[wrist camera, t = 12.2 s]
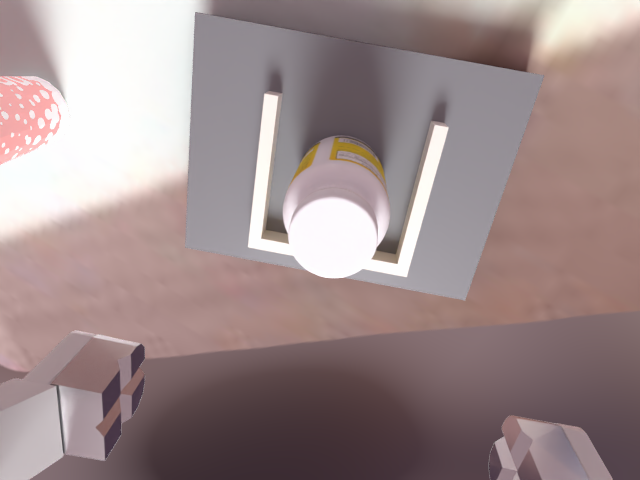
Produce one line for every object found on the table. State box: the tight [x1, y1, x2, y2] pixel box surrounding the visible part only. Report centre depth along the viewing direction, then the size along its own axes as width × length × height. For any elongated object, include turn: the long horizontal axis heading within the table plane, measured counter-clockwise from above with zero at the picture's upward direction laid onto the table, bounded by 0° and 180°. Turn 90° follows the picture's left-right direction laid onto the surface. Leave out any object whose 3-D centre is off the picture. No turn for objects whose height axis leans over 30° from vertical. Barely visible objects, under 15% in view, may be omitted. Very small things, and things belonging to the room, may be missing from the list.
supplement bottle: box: [283, 135, 390, 278], centre depth 24 cm, size 5×5×10 cm
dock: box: [185, 12, 544, 300], centre depth 29 cm, size 20×15×4 cm
